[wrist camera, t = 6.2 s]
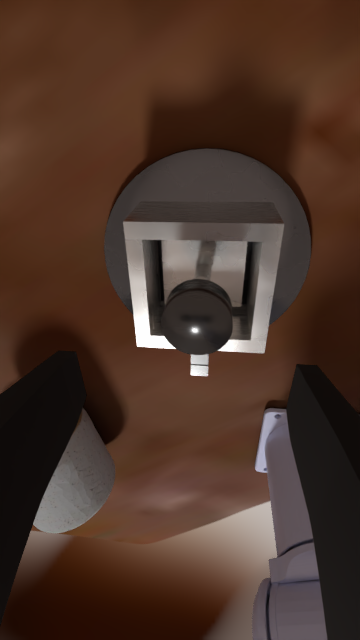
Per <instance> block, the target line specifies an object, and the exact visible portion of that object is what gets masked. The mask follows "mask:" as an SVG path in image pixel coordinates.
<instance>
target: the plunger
mask: <svg viewBox="0 0 360 640" xmlns="http://www.w3.org/2000/svg"><path fill="white" fill-rule="evenodd" d="M161 242H162V262H163V281H164V301H165V304H166V305H165V309H164V312H163V315H162V320H161V329H162V332H163V335H164V337H165V338H166V340H167V341H168V342H169V343H170V344H171V345H172V346H173V347H174V348H176V349H177V350H179V351H181V352H184V353H187V354H191V355H206V354H210V353H213V352H215V351H218V350H219V349H221V348H222V347H223V346H224V345H225V344H226V343H227V342H228V341H229V339H230V337H231V335H232V330H233V319H232V307H241V303H242V293H243V282H244V272H245V262H246V251H247V241H195V240H161Z"/></svg>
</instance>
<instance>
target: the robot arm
mask: <svg viewBox="0 0 360 640" xmlns="http://www.w3.org/2000/svg"><path fill="white" fill-rule="evenodd" d="M86 396H87V395H86V391H85V387H84V383H83V378H82V374H81V370H80V366H79V362H78V358H77V354H76V352H73V351H58V352H56V353H55V354H53V355H52V356H51V357H49V358H48V359H47V360H45V361H44V362H43V363H41V364H40V365H39V366H37V367H36V368H35V369H34V370H32V371H31V372H30V373H28V374H27V375H26V376H24V377H23V378H22V379H20V380H19V381H18V382H16V383H15V384H14V385H12V386H11V387H10V388H8V389H7V390H6V391H4V392H3V393H2V394H0V625H1V622H2V618H3V615H4V611H5V607H6V604H7V601H8V598H9V595H10V592H11V588H12V585H13V582H14V579H15V575H16V572H17V569H18V566H19V563H20V560H21V557H22V554H23V551H24V548H25V545H26V543H27V540H28V537H29V533H30V531H31V528H32V525H33V523H34V520H35V517H36V515H37V512H38V509H39V506H40V504H41V501H42V498H43V496H44V494H45V491H46V489H47V487H48V485H49V482H50V480H51V478H52V476H53V474H54V472H55V470H56V468H57V466H58V464H59V462H60V459H61V457H62V455H63V453H64V451H65V449H66V447H67V445H68V443H69V441H70V438H71V436H72V434H73V432H74V430H75V428H76V425H77V423H78V420H79V417H80V415H81V412H82V409H83V405H84V402H85V399H86ZM276 414H279V415H276ZM255 470H256V471H258V472H265V473H267V475H268V484H269V492H270V500H271V508H272V515H273V523H274V532H275V540H276V548H277V555H278V556H277V558H273V559H269V566H270V577H271V578H266V579H264V580H263V581H262V582H261V584H260V586H259V589H258V592H257V595H256V597H255V600H254V605H253V614H252V633H253V640H360V414H358V413H357V412H356V411H355V410H354V408H353V407H352V406H351V405H350V404H349V403H348V402H347V400H346V399H345V398H344V397H343V396H342V395H341V393H340V392H339V391H338V390H337V389H336V387H335V386H334V385H333V384H332V383H331V381H330V380H329V379H328V378H327V377H326V375H325V374H324V373H323V372H322V371H321V370H320V368H319V367H318V366H317V365H301V364H297V365H296V370H295V374H294V378H293V382H292V387H291V391H290V395H289V399H288V403H287V408H286V409H276V408H269V409H266V410H265V412H264V417H263V422H262V428H261V433H260V439H259V445H258V450H257V456H256V461H255Z"/></svg>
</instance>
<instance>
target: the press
mask: <svg viewBox="0 0 360 640" xmlns="http://www.w3.org/2000/svg"><path fill="white" fill-rule="evenodd" d="M161 240H195V241H247V251H246V262H245V272H244V282H243V293H242V303H241V307H232V319H233V330H232V335H231V337H230V339H229V341H228V342H227V343H226V344H225V345H224V346H223V347H222V348H221V349H219V350H218V351H232V352H251V353H264V351H265V345H266V338H267V332H268V326H269V325H270V324H271V323H273V322H274V321H275V320H277V319H278V318H279V317H280V316H281V315H282V314H283V313H284V312H285V311H286V310H287V309H288V307H289V306H290V305H291V304H292V302H293V301H294V300H295V298H296V296H297V295H298V293H299V292H300V290H301V288H302V285H303V283H304V281H305V279H306V275H307V272H308V268H309V263H310V256H311V237H310V230H309V225H308V222H307V218H306V215H305V212H304V210H303V208H302V206H301V204H300V202H299V200H298V198H297V197H296V195H295V194H294V192H293V191H292V189H291V188H290V187H289V186H288V184H287V183H286V182H285V181H284V180H283V179H282V178H281V177H280V176H279V175H278V174H277V173H275V172H274V171H273V170H272V169H270V168H269V167H268V166H266V165H265V164H263V163H261V162H259V161H258V160H256V159H254V158H252V157H249V156H247V155H244V154H241V153H239V152H235V151H230V150H225V149H216V148H201V149H190V150H186V151H182V152H178V153H174V154H172V155H169V156H167V157H164V158H162V159H160V160H158V161H157V162H155V163H153V164H151V165H150V166H148V167H147V168H146V169H144V170H143V171H142V172H141V173H139V174H138V175H137V176H136V177H135V178H134V179H133V180H132V181H131V182H130V183H129V184H128V185H127V186H126V187H125V189H124V190H123V192H122V193H121V194H120V196H119V197H118V199H117V201H116V203H115V205H114V207H113V209H112V211H111V214H110V217H109V220H108V223H107V228H106V233H105V245H104V250H105V261H106V266H107V270H108V274H109V277H110V279H111V282H112V285H113V287H114V289H115V291H116V292H117V294H118V296H119V297H120V299H121V300H122V302H123V303H124V305H125V306H126V307H127V308H128V309H129V310H130V312H131V313H132V314H133V315H134V322H135V331H136V340H137V347H155V348H174V347H173V346H172V345H171V344H170V343H169V342H168V341H167V340H166V338H165V337H164V335H163V332H162V329H161V320H162V315H163V312H164V309H165V305H166V304H165V301H164V281H163V262H162V242H161ZM174 349H176V348H174ZM208 361H209V354H206V355H191V375H194V376H208Z"/></svg>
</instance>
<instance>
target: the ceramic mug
mask: <svg viewBox="0 0 360 640" xmlns="http://www.w3.org/2000/svg"><path fill="white" fill-rule="evenodd" d="M114 479H115V465H114V462H113V459H112V457H111V455H110V454H109V452H108V451H107V449H106V446H105V445H104V443H103V441H102V439H101V437H100V436H99V434H98V432H97V431H96V429H95V427H94V425H93V423H92V421H91V419H90V417H89V415H88V414H87V412H86V411H85V410H84V409H82V412H81V415H80V417H79V420H78V423H77V425H76V428H75V430H74V432H73V434H72V436H71V438H70V441H69V443H68V445H67V447H66V449H65V451H64V453H63V455H62V457H61V459H60V462H59V464H58V466H57V468H56V470H55V472H54V474H53V476H52V478H51V480H50V482H49V485H48V487H47V489H46V491H45V494H44V496H43V498H42V501H41V504H40V506H39V509H38V512H37V515H36V517H35V520H34V523H33V525H34V526H36V527H37V528H38V529H40V530H41V531H44V532H48V533H61V532H66V531H69V530H72V529H74V528H77V527H78V526H80V525H82V524H83V523H85V522H86V521H87V520H89V519H90V518H91V517H92V516H93V515H94V514H95V513H97V511H98V510H99V509H100V508H101V507H102V506H103V504H104V503H105V501H106V500H107V498H108V496H109V494H110V492H111V490H112V487H113V484H114Z"/></svg>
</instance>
